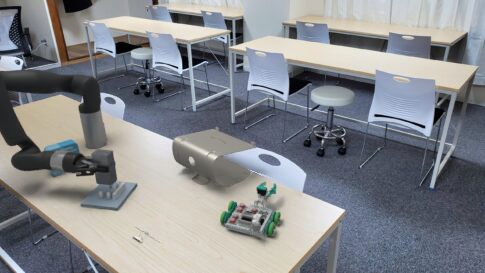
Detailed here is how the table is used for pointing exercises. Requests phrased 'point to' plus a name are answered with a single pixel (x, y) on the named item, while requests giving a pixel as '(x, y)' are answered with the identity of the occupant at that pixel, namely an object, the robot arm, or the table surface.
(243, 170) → the curved metal cover
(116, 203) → the pin tray
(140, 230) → the picture light
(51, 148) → the data package
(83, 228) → the table surface
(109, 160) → the dark grey rectangular block
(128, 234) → the table surface
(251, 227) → the robot kit
